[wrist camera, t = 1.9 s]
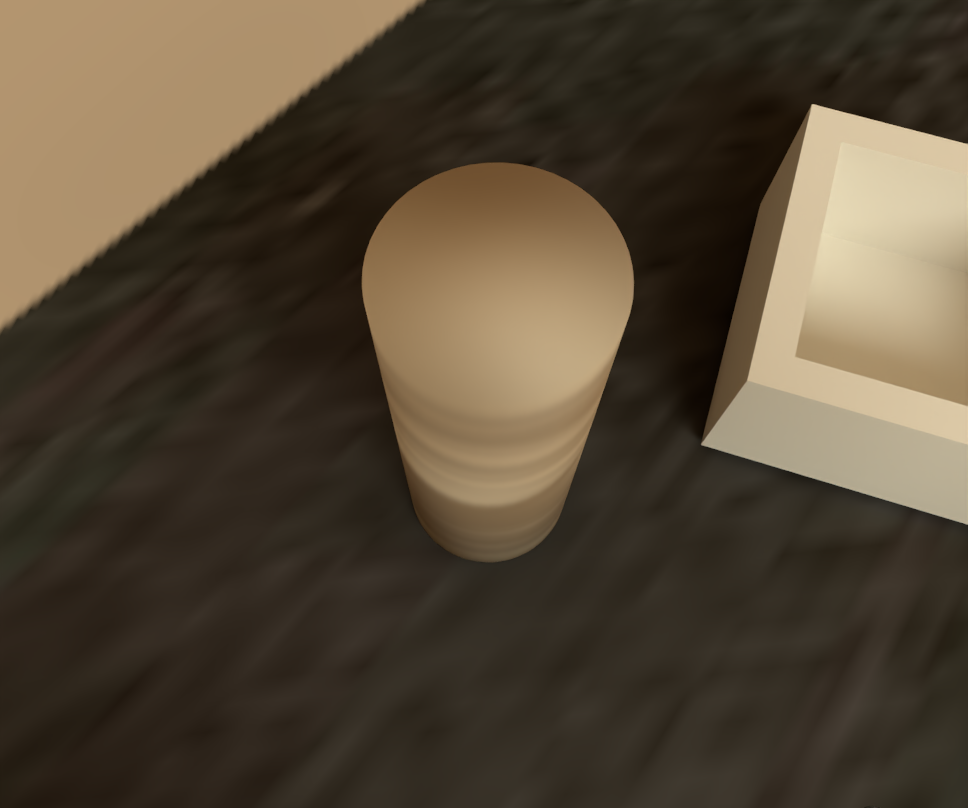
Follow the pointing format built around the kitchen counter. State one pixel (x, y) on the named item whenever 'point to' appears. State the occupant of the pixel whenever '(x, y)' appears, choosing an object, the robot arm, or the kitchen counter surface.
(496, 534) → the wick dowel
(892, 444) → the cream square tray
